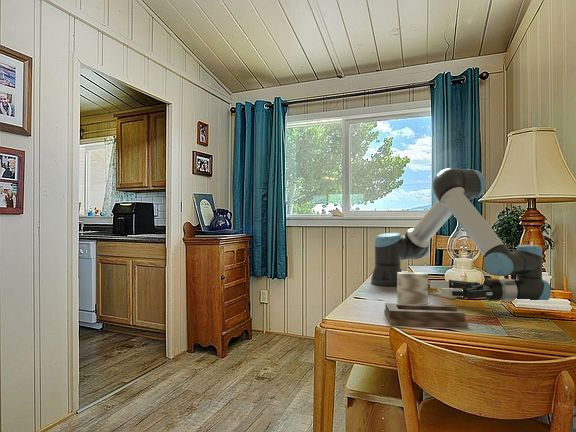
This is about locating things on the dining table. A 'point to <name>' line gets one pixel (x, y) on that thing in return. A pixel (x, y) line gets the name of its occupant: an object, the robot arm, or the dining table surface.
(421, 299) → the pale grey rectangular block
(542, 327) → the dining table surface
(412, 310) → the groove board
